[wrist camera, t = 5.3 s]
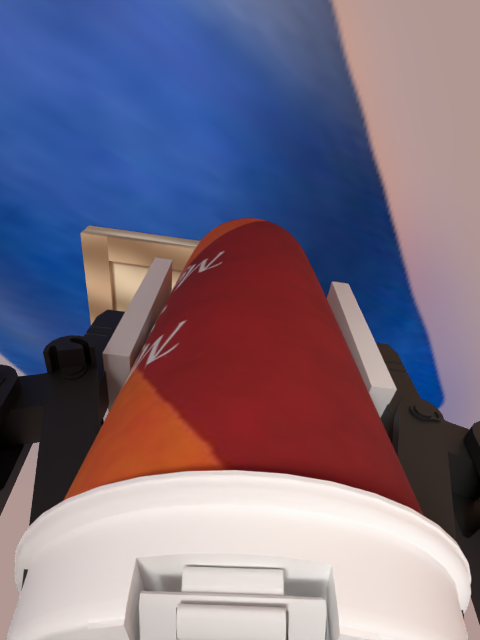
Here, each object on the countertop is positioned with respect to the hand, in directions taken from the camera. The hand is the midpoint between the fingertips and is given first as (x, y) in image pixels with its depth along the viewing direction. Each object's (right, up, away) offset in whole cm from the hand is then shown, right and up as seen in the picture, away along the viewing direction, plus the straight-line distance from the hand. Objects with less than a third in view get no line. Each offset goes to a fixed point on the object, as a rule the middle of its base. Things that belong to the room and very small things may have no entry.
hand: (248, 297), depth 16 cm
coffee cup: (0, +1, +2) cm, 2 cm away
